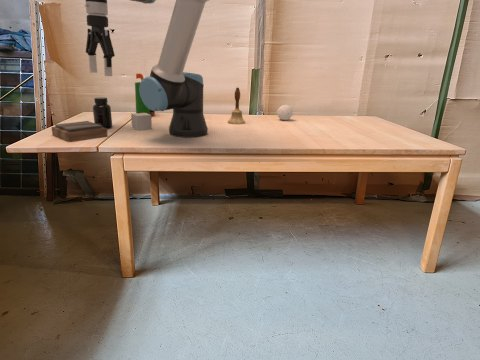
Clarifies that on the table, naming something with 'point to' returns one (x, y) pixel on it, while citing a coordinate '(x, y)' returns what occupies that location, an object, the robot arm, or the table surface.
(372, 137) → the table surface
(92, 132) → the walnut plinth
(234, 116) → the hand bell
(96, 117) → the supplement bottle
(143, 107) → the green spray bottle
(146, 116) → the grey cube
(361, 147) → the table surface
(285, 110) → the whitish grey ball
